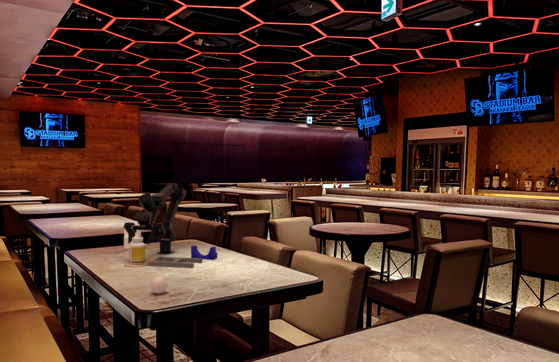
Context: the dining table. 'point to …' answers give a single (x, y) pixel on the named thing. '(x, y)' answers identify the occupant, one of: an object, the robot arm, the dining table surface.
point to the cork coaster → (136, 264)
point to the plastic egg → (158, 285)
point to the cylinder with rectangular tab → (126, 244)
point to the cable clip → (197, 254)
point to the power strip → (174, 262)
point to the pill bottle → (137, 251)
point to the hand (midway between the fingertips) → (138, 243)
